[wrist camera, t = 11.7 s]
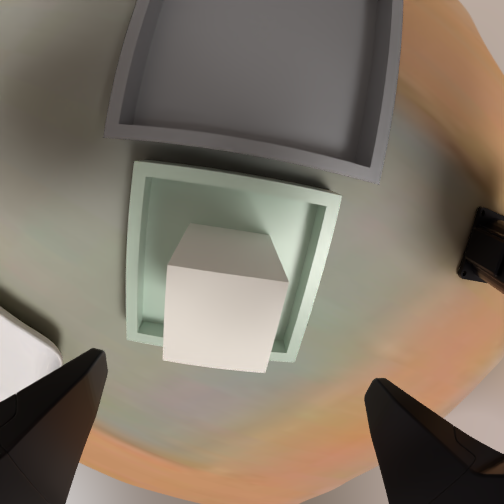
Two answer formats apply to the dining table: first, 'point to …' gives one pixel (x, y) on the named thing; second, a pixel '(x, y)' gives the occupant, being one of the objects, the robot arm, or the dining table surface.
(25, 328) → the salad plate
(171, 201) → the holder
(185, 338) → the block
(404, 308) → the dining table surface
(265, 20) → the gray square tray
